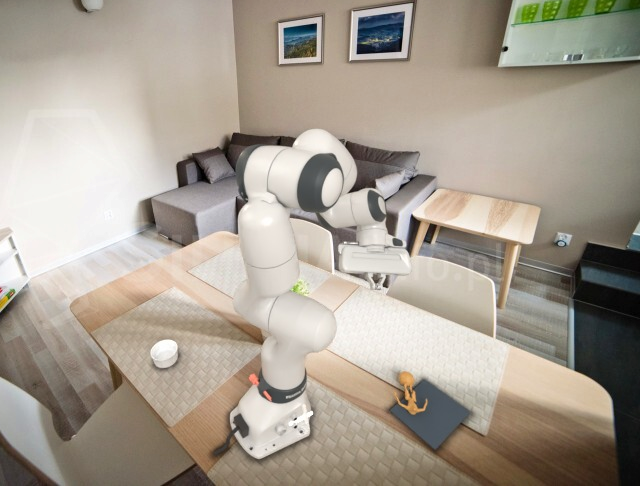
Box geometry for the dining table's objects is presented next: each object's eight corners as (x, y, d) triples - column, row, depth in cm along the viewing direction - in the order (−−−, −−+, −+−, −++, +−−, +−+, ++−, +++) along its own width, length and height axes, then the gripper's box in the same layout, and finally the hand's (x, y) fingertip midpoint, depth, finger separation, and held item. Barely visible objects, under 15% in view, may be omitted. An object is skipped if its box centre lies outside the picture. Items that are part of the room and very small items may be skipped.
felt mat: (434, 450, 77) (435, 449, 77) (389, 411, 87) (389, 409, 87) (469, 413, 85) (470, 411, 84) (424, 380, 94) (424, 379, 94)
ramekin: (147, 366, 106) (144, 356, 105) (162, 346, 114) (159, 336, 112) (170, 372, 103) (168, 363, 101) (184, 351, 111) (182, 342, 109)
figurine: (421, 372, 93) (435, 401, 82) (417, 390, 94) (430, 422, 83) (390, 365, 95) (400, 393, 83) (387, 383, 96) (395, 413, 85)
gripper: (341, 237, 93) (344, 286, 89) (411, 241, 94) (417, 290, 89) (334, 243, 99) (336, 289, 95) (400, 246, 100) (405, 292, 95)
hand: (376, 290), depth 92 cm, fingers closed
